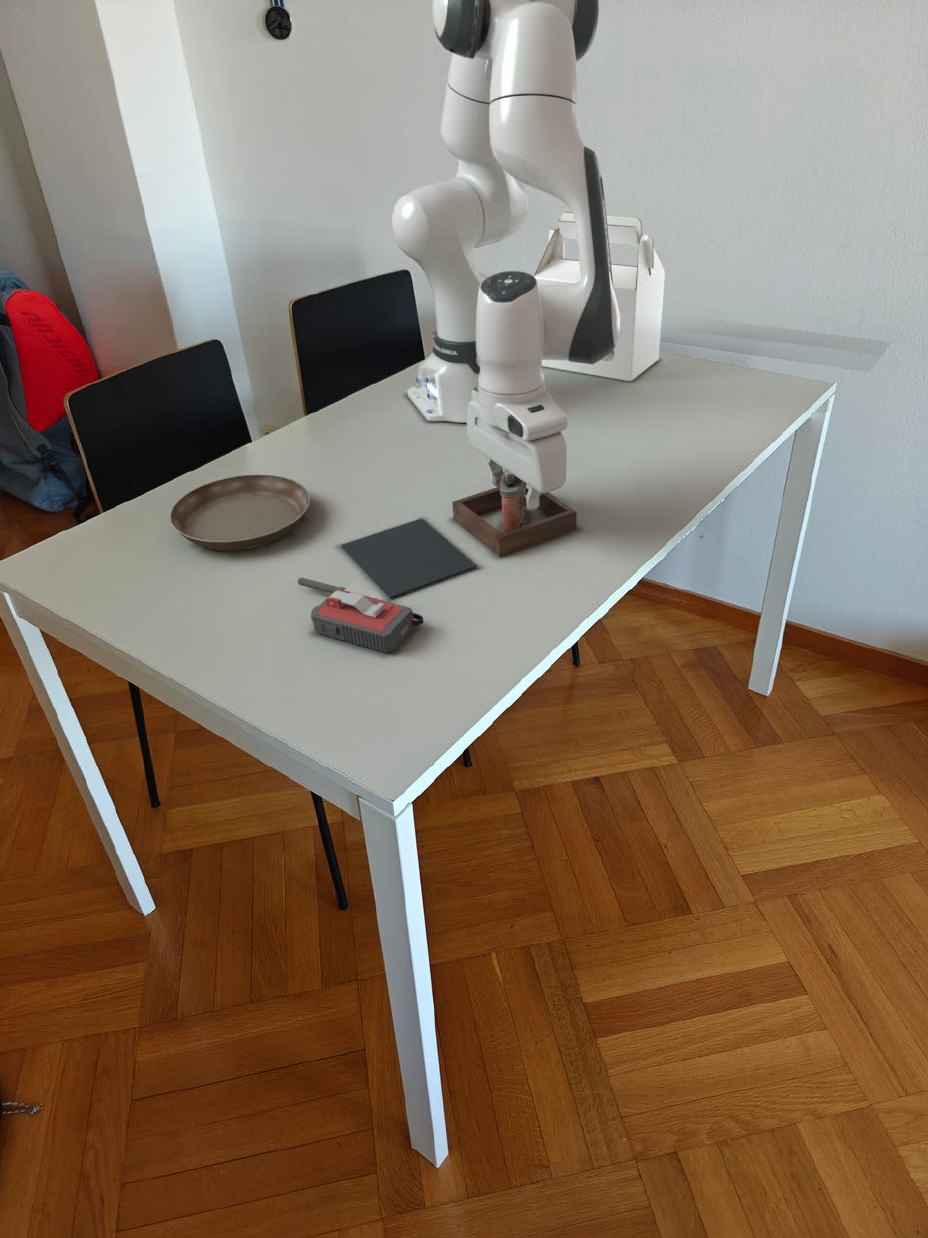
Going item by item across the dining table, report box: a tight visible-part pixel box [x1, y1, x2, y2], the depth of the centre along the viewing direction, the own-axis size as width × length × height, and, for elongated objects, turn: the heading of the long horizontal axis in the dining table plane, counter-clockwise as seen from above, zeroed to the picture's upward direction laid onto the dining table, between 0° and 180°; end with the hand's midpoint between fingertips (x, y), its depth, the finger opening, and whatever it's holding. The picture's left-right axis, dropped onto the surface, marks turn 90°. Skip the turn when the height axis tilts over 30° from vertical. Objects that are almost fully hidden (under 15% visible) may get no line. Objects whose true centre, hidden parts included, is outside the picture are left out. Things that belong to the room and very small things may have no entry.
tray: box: [451, 483, 578, 558], centre depth 128 cm, size 13×13×3 cm
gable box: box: [533, 211, 666, 382], centre depth 172 cm, size 22×13×28 cm, turn 56°
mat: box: [341, 518, 477, 600], centre depth 123 cm, size 16×13×1 cm
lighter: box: [500, 469, 527, 534], centre depth 126 cm, size 8×3×10 cm, turn 168°
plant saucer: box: [169, 473, 311, 551], centre depth 133 cm, size 21×21×3 cm
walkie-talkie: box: [297, 577, 424, 654], centre depth 111 cm, size 9×4×20 cm
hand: (514, 495), depth 126 cm, fingers open, 7 cm apart
